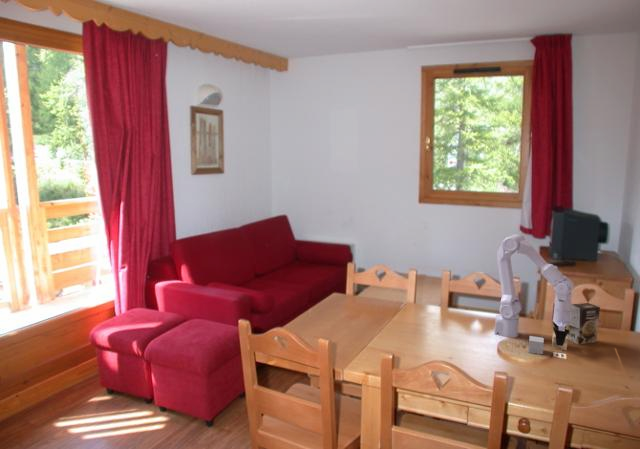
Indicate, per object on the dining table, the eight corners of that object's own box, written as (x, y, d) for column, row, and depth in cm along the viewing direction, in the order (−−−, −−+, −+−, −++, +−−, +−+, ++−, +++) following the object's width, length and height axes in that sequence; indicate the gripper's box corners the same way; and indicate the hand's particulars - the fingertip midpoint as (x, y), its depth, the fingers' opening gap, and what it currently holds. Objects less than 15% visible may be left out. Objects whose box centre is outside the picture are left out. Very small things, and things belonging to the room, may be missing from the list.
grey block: (528, 352, 185) (529, 340, 184) (528, 347, 190) (529, 335, 189) (542, 354, 183) (543, 342, 182) (542, 349, 188) (543, 337, 187)
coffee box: (578, 347, 193) (582, 309, 191) (566, 340, 200) (570, 303, 197) (596, 344, 196) (600, 307, 193) (584, 338, 202) (588, 302, 199)
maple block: (552, 348, 190) (553, 336, 189) (551, 343, 194) (552, 332, 193) (566, 350, 188) (567, 338, 187) (565, 345, 192) (566, 334, 191)
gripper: (574, 316, 180) (571, 350, 182) (572, 305, 193) (569, 337, 195) (554, 314, 183) (551, 347, 185) (553, 302, 196) (550, 334, 198)
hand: (559, 341), depth 190 cm, fingers open, 6 cm apart
